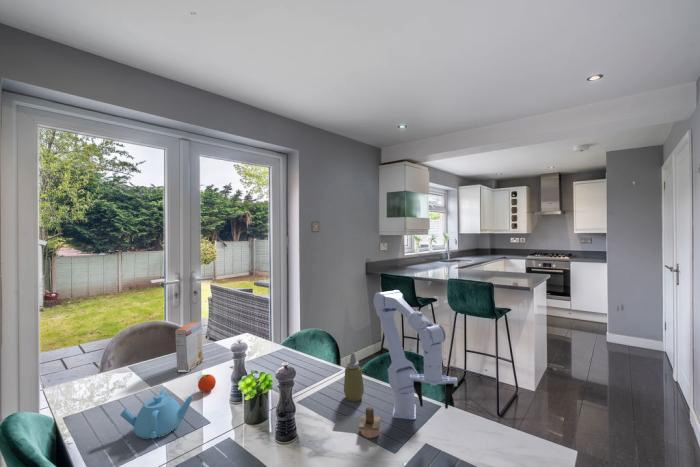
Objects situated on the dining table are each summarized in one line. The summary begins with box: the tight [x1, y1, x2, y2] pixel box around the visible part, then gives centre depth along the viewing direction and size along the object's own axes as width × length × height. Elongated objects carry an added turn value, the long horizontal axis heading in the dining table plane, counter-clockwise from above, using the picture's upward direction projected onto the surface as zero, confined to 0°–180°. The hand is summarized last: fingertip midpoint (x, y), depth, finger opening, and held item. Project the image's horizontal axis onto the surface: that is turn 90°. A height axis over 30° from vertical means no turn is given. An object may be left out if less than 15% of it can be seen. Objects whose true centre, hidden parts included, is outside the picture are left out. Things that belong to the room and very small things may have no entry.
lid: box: [359, 406, 381, 432], centre depth 107 cm, size 6×6×5 cm
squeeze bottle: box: [343, 352, 365, 403], centre depth 129 cm, size 8×8×18 cm
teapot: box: [119, 390, 194, 440], centre depth 113 cm, size 15×17×11 cm
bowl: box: [359, 427, 381, 439], centre depth 108 cm, size 6×6×3 cm
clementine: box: [197, 374, 217, 393], centre depth 139 cm, size 8×7×7 cm
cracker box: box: [174, 321, 204, 371], centre depth 164 cm, size 14×6×21 cm, turn 175°
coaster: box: [331, 415, 361, 434], centre depth 112 cm, size 9×9×1 cm
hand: (433, 406), depth 105 cm, fingers open, 7 cm apart
